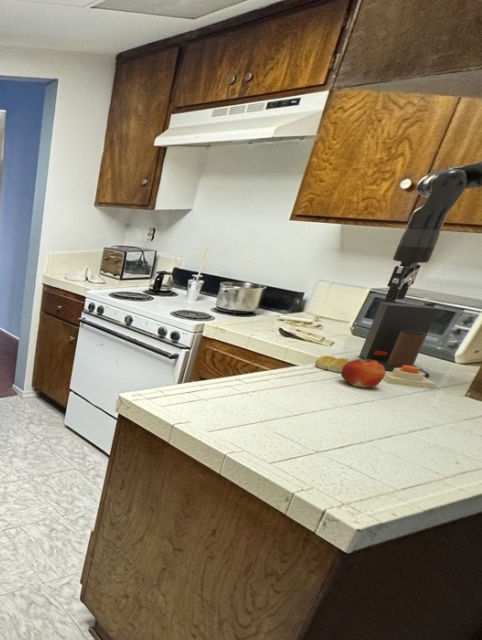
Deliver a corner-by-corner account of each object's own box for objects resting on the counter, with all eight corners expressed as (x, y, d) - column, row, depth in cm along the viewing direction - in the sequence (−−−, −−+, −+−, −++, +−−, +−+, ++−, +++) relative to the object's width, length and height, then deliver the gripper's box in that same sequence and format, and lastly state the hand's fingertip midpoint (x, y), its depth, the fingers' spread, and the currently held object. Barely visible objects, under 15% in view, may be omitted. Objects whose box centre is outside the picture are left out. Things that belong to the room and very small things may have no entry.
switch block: (420, 380, 144) (425, 370, 142) (433, 389, 137) (438, 377, 136) (377, 375, 148) (382, 364, 146) (388, 383, 141) (392, 372, 140)
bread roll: (322, 363, 159) (327, 352, 157) (354, 371, 151) (359, 359, 149) (307, 365, 156) (311, 354, 154) (339, 374, 148) (344, 362, 147)
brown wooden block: (381, 360, 156) (395, 327, 152) (404, 363, 153) (419, 329, 149) (390, 367, 150) (405, 332, 145) (415, 370, 147) (431, 334, 143)
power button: (414, 371, 142) (416, 366, 141) (419, 375, 139) (422, 369, 138) (398, 369, 143) (400, 364, 143) (403, 373, 140) (405, 367, 140)
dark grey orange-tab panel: (427, 378, 146) (457, 315, 138) (376, 372, 151) (402, 310, 143) (403, 363, 160) (429, 305, 152) (357, 358, 165) (380, 301, 157)
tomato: (383, 393, 133) (394, 366, 130) (341, 386, 138) (351, 360, 135) (373, 383, 141) (384, 358, 138) (334, 377, 145) (343, 353, 142)
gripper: (427, 246, 130) (403, 304, 137) (441, 245, 137) (418, 300, 144) (391, 244, 136) (369, 300, 142) (406, 243, 143) (385, 296, 149)
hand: (394, 300), depth 143 cm, fingers open, 8 cm apart
